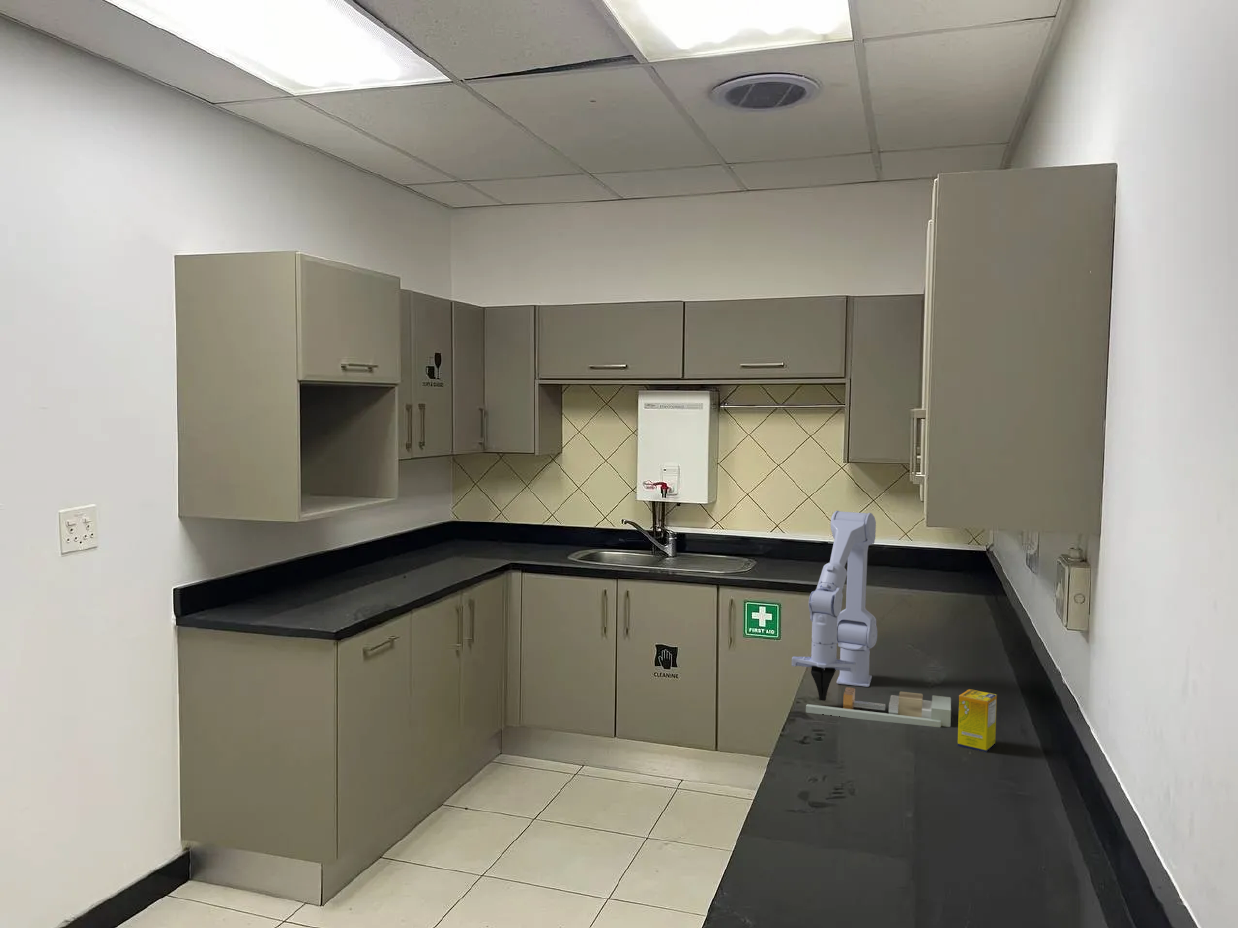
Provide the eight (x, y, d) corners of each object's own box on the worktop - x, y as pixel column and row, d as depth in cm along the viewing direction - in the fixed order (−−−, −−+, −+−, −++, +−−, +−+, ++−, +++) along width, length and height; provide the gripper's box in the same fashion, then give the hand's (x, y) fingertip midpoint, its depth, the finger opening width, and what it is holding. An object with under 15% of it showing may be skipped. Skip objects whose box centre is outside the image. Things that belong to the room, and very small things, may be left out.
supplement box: (966, 739, 194) (968, 688, 193) (995, 746, 190) (997, 694, 189) (956, 747, 189) (958, 694, 188) (986, 754, 185) (988, 700, 185)
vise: (812, 698, 220) (812, 682, 220) (950, 714, 210) (950, 697, 210) (805, 712, 210) (806, 695, 210) (950, 729, 200) (950, 711, 199)
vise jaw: (846, 702, 217) (846, 685, 216) (899, 708, 213) (900, 691, 212) (842, 712, 209) (843, 695, 209) (897, 719, 205) (898, 701, 205)
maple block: (899, 712, 211) (899, 691, 211) (922, 715, 209) (922, 693, 209) (898, 719, 206) (898, 697, 206) (921, 722, 205) (922, 700, 205)
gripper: (790, 642, 213) (788, 700, 213) (854, 648, 208) (853, 707, 208) (794, 635, 219) (793, 691, 220) (857, 641, 214) (855, 698, 215)
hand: (822, 699), depth 215 cm, fingers closed
